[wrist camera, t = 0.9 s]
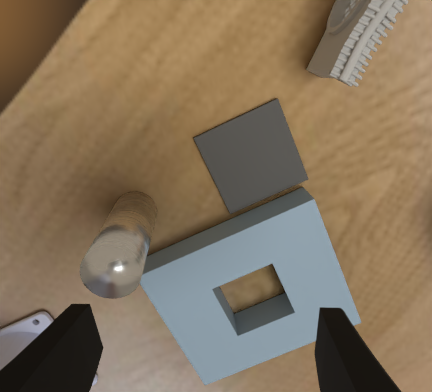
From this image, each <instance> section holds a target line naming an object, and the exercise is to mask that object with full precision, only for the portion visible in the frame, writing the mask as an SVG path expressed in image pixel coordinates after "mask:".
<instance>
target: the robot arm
mask: <svg viewBox="0 0 432 392" xmlns="http://www.w3.org/2000/svg"><path fill="white" fill-rule="evenodd" d="M35 319H36V320H38V321H39V322H38V321H36V320H35ZM102 350H103V345H102V342H101V339H100V335H99V332H98V329H97V326H96V323H95V319H94V316H93V313H92V310H91V306H90V304H71V305H70V306H69V307H68V308H67V309H66V310H65V311H64V312H62V313H61V314H60V315H59V316H58V317H57V318H56V319H55V320H53V319H52V317H51V316H50V315H49V314H48V313H47V312H43V311H42V312H39V313H36V314H34V315H32V316H30V317H27V318H25V319H23V320H21V321H18V322H16V323H14V324H11V325H9V326H7V327H5V328H2V329H0V392H89V391H90V388H91V386H92V385H95V384H96V383H97V380H98V377H97V375H96V371H97V368H98V365H99V361H100V358H101V354H102ZM315 360H316V367H317V374H318V380H319V387H320V391H321V392H401V390H400V389H399V388H398V387H397V385H396V384H395V383H394V382H393V380H392V379H391V378H390V376H389V375H388V374H387V372H386V371H385V370H384V368H383V367H382V366H381V365H380V363H379V362H378V361H377V359H376V358H375V356H374V355H373V354H372V352H371V351H370V350H369V348H368V347H367V345H366V344H365V342H364V341H363V339H362V338H361V337H360V335H359V334H358V332H357V331H356V329H355V328H354V326H353V325H352V323H351V321H350V320H349V318H348V317H347V315H346V313H345V312H344V310H343V309H341V308H325V307H320V310H319V318H318V327H317V336H316V345H315Z"/></svg>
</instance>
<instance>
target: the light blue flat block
mask: <svg viewBox="0 0 432 392" xmlns="http://www.w3.org/2000/svg"><path fill="white" fill-rule="evenodd" d="M270 264H273V266H274V268H275V270H276V272H277V274H278V277H279V279H280V281H281V283H282V285H283V287H284V290H285V292H286V293H283V294H281V295H278V296H276V297H274V298H271V299H269V300H266V301H264V302H262V303H259V304H257V305H255V306H252V307H250V308H247V309H245V310H243V311H240V312H238V313H235V314H234V313H233V311H232V309H231V308H230V306H229V304H228V302H227V300H226V298H225V297H224V295H223V293H222V291H221V289H220V287H219V286H221V285H223V284H225V283H228V282H230V281H232V280H235V279H237V278H239V277H242V276H244V275H246V274H249V273H251V272H253V271H256V270H258V269H260V268H263V267H265V266H267V265H270ZM140 285H141V286H142V288H143V289H144V291H145V292H146V294H147V296H148V297H149V299H150V300H151V302H152V303H153V305H154V306H155V308H156V310H157V311H158V313H159V314H160V316H161V317H162V319H163V321H164V322H165V324H166V325H167V327H168V328H169V330H170V331H171V333H172V335H173V336H174V338H175V339H176V341H177V342H178V344H179V346H180V347H181V349H182V350H183V352H184V353H185V355H186V356H187V358H188V360H189V361H190V363H191V364H192V366H193V367H194V369H195V371H196V372H197V374H198V375H199V377H200V378H201V380H202V382H203V383H204V385H207V384H210V383H212V382H215V381H217V380H220V379H222V378H225V377H227V376H230V375H232V374H235V373H237V372H240V371H242V370H245V369H247V368H249V367H252V366H254V365H257V364H259V363H262V362H264V361H267V360H269V359H272V358H274V357H277V356H279V355H282V354H284V353H287V352H289V351H292V350H294V349H297V348H299V347H302V346H304V345H307V344H309V343H312V342H314V341H316V336H317V327H318V318H319V310H320V307H325V308H341V309H343V310H344V312H345V313H346V315H347V317H348V318H349V320H350V321H351V323H352V325H353V326H354V325H356V324H359V323H361V320H360V317H359V315H358V312H357V310H356V307H355V304H354V302H353V299H352V297H351V294H350V291H349V289H348V286H347V283H346V281H345V278H344V276H343V273H342V270H341V268H340V265H339V262H338V260H337V257H336V255H335V252H334V249H333V247H332V244H331V241H330V239H329V236H328V234H327V231H326V228H325V226H324V223H323V221H322V218H321V215H320V213H319V210H318V207H317V205H316V202H315V200H314V198H313V197H312V196H311V195H310V194H309V193H308V192H307V191H306V190H305V189H304V188H303V187H301V188H299V189H297V190H295V191H293V192H290V193H288V194H286V195H284V196H281V197H279V198H277V199H275V200H272V201H270V202H268V203H266V204H263V205H261V206H259V207H257V208H254V209H252V210H250V211H248V212H245V213H243V214H241V215H239V216H236V217H234V218H232V219H230V220H227V221H225V222H223V223H221V224H218V225H216V226H214V227H212V228H209V229H207V230H205V231H203V232H200V233H198V234H196V235H194V236H191V237H189V238H187V239H185V240H182V241H180V242H178V243H176V244H173V245H171V246H169V247H167V248H164V249H162V250H160V251H158V252H155V253H153V254H151V255H149V256H147V257H146V261H145V265H144V269H143V273H142V277H141V281H140Z"/></svg>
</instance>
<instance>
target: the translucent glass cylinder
mask: <svg viewBox="0 0 432 392" xmlns="http://www.w3.org/2000/svg"><path fill="white" fill-rule="evenodd" d="M156 217H157V207H156V205H155V203H154V201H153V200H152V199H151V198H150V197H149V196H148V195H146V194H144V193H141V192H129V193H126V194H124V195H122V196H121V197H120V198H119V199H118V200H117V202H116V204H115V205H114V207H113V209H112V210H111V212H110V214H109V216H108V217H107V219H106V221H105V222H104V224H103V226H102V227H101V229H100V231H99V233H98V234H97V236H96V238H95V239H94V241H93V243H92V245H91V246H90V248H89V250H88V251H87V253H86V255H85V256H84V258H83V260H82V262H81V265H80V276H81V279H82V282H83V283H84V285H85V286H86V287H87V288H88V289H89V290H90V291H91V292H92V293H94V294H96V295H98V296H101V297H104V298H121V297H124V296H127V295H129V294H130V293H132V292H133V291H134V290H135V289H136V288H137V287H138V285H139V283H140V281H141V277H142V273H143V269H144V265H145V261H146V257H147V253H148V249H149V245H150V241H151V237H152V233H153V229H154V225H155V221H156Z"/></svg>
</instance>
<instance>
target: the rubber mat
mask: <svg viewBox="0 0 432 392" xmlns="http://www.w3.org/2000/svg"><path fill="white" fill-rule="evenodd" d="M194 140H195V142H196V144H197V146H198V148H199V151H200V153H201V155H202V157H203V159H204V161H205V163H206V165H207V167H208V169H209V171H210V173H211V175H212V177H213V179H214V181H215V184H216V186H217V188H218V190H219V192H220V194H221V196H222V198H223V200H224V202H225V204H226V206H227V208H228V210H229V212H230V214H232V213H234V212H236V211H238V210H240V209H243V208H245V207H247V206H249V205H252V204H254V203H256V202H258V201H261V200H263V199H265V198H267V197H270V196H272V195H274V194H276V193H279V192H281V191H283V190H285V189H287V188H290V187H292V186H294V185H296V184H299V183H301V182H303V181H305V180H308V177H307V174H306V172H305V169H304V166H303V164H302V161H301V159H300V156H299V153H298V151H297V148H296V145H295V143H294V140H293V137H292V135H291V132H290V130H289V127H288V124H287V122H286V119H285V116H284V114H283V111H282V109H281V106H280V103H279V101H278V99H277V98H276V99H274V100H272V101H270V102H268V103H266V104H264V105H262V106H259V107H257V108H255V109H253V110H251V111H249V112H247V113H245V114H242V115H240V116H238V117H236V118H234V119H232V120H230V121H228V122H226V123H223V124H221V125H219V126H217V127H215V128H213V129H211V130H209V131H207V132H204V133H202V134H200V135H198V136H196V137H194Z"/></svg>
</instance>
